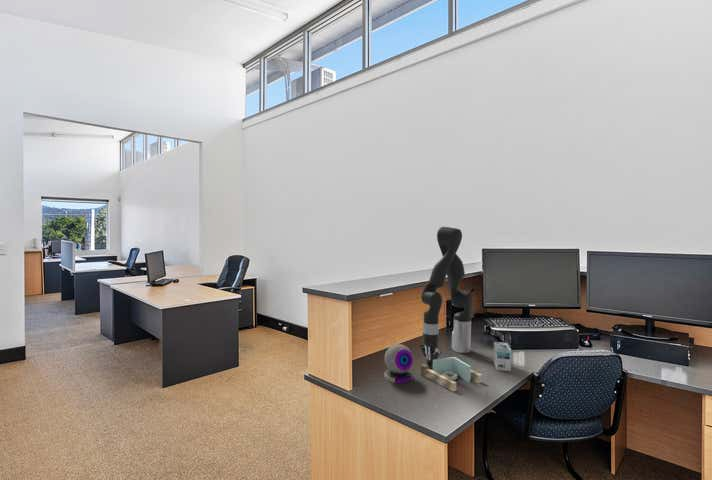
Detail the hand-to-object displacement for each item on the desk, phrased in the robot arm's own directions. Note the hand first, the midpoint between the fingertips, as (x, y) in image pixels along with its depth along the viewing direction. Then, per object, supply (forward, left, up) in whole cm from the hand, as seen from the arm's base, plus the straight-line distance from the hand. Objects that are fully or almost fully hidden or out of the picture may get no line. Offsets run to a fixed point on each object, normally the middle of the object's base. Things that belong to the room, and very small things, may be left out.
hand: (429, 366), depth 182 cm
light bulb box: (+17, +32, -1) cm, 36 cm away
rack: (+14, 0, 0) cm, 14 cm away
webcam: (+1, -20, -1) cm, 20 cm away
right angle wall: (+13, +1, -1) cm, 13 cm away
